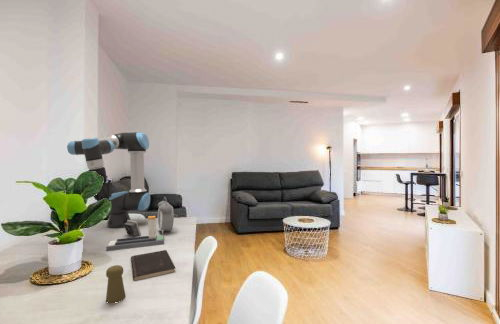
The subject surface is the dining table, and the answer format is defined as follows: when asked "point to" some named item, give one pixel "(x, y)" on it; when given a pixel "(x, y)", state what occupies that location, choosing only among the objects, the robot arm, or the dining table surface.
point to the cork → (115, 284)
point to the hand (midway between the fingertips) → (106, 211)
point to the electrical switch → (132, 228)
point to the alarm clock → (165, 216)
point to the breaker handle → (152, 226)
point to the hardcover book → (151, 264)
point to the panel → (134, 242)
